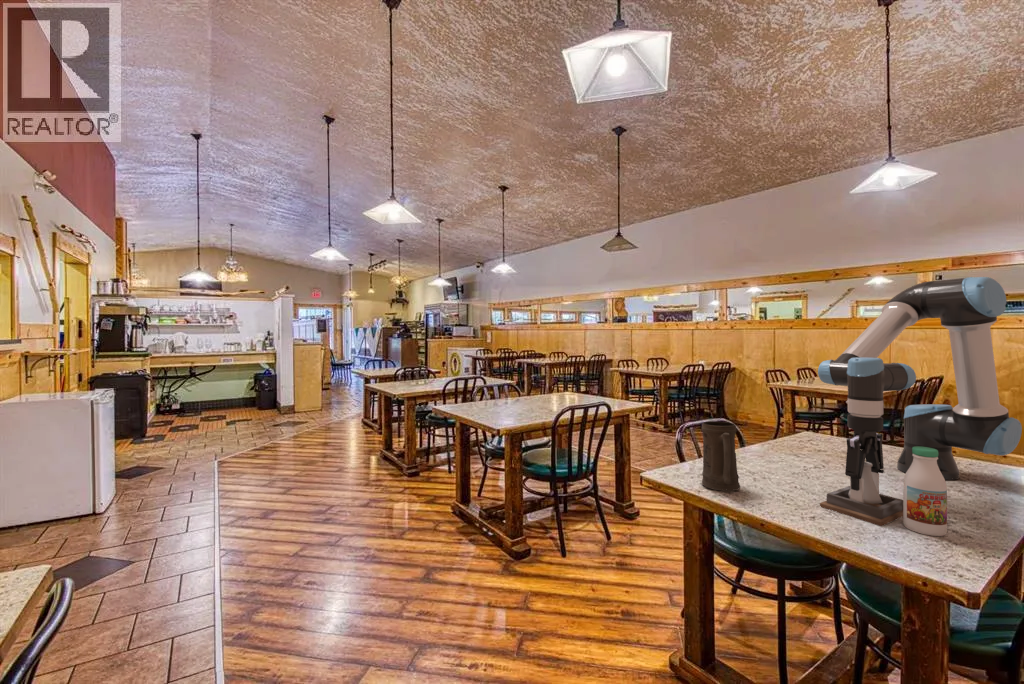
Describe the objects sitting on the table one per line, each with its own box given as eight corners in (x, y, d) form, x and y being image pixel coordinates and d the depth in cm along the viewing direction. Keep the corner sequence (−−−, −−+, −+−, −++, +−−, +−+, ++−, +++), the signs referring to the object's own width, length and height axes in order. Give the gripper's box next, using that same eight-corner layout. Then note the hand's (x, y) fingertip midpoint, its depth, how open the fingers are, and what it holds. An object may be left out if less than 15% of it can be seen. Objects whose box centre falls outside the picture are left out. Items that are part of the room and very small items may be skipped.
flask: (888, 505, 113) (888, 467, 113) (857, 503, 115) (857, 466, 115) (871, 495, 120) (871, 459, 120) (842, 493, 122) (842, 458, 122)
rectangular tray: (850, 495, 128) (850, 483, 128) (911, 513, 115) (911, 499, 115) (819, 506, 120) (819, 494, 120) (881, 526, 108) (881, 512, 108)
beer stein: (695, 480, 143) (695, 419, 142) (728, 480, 142) (728, 419, 142) (716, 498, 127) (715, 430, 127) (753, 498, 127) (753, 430, 126)
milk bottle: (894, 523, 109) (895, 444, 109) (922, 522, 110) (923, 443, 109) (926, 538, 101) (927, 453, 101) (956, 536, 102) (957, 452, 102)
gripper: (867, 408, 125) (867, 487, 126) (828, 416, 116) (828, 501, 116) (900, 413, 118) (899, 495, 119) (861, 421, 109) (861, 511, 110)
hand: (864, 498), depth 118 cm, fingers closed on flask, 7 cm apart
